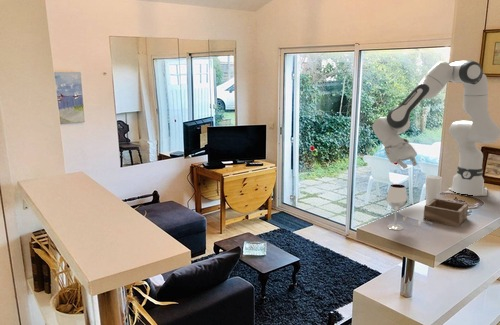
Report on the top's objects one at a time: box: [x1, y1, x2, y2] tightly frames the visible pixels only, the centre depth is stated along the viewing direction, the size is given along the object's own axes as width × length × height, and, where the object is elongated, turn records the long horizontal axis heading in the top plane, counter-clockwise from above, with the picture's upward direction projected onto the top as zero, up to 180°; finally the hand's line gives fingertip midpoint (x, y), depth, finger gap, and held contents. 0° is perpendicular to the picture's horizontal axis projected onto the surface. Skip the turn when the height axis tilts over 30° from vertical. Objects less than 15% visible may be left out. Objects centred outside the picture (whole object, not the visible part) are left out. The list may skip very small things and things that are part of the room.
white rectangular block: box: [425, 175, 443, 205], centre depth 189 cm, size 7×7×15 cm
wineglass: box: [385, 183, 409, 231], centre depth 162 cm, size 8×8×18 cm
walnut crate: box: [422, 198, 469, 228], centre depth 173 cm, size 14×14×6 cm
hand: (410, 166), depth 196 cm, fingers open, 8 cm apart
